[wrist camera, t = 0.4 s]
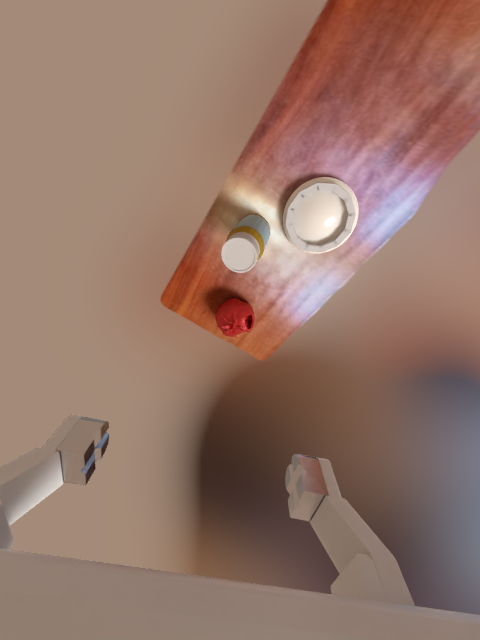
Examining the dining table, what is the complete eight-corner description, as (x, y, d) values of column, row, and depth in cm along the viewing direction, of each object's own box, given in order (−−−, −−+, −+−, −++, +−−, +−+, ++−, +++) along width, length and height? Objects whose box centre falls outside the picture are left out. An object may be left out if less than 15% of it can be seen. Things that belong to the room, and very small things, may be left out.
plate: (346, 161, 44) (347, 161, 42) (365, 235, 50) (367, 238, 48) (272, 199, 50) (271, 201, 48) (297, 261, 56) (297, 265, 54)
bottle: (231, 228, 55) (210, 253, 43) (255, 205, 51) (239, 225, 39) (252, 252, 57) (238, 282, 45) (277, 232, 54) (268, 258, 42)
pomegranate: (214, 312, 69) (202, 333, 62) (232, 287, 64) (221, 306, 56) (244, 332, 71) (235, 354, 63) (264, 309, 65) (257, 330, 57)
